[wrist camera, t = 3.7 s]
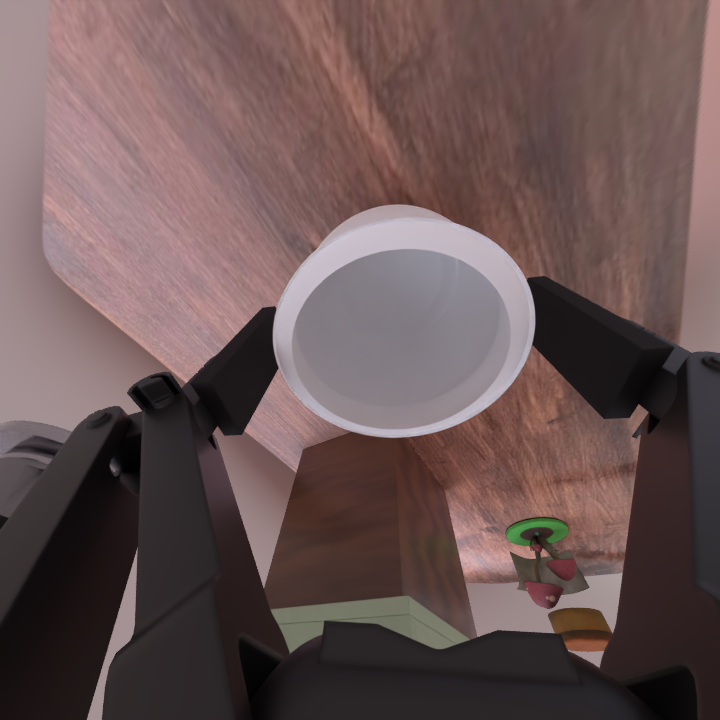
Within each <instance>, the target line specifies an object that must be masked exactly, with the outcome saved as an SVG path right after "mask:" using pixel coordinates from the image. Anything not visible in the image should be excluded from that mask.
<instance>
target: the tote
mask: <svg viewBox="0 0 720 720" xmlns="http://www.w3.org/2000/svg"><path fill="white" fill-rule="evenodd" d="M270 610H271V612H272V614H273V616H274V618H275V620H276V622H277V623H278V625H279V627H280V629H281V631H282V633H283V636H284V638H285V641H286V643H287V646H288V649H289V652H290V653H291V652H293V651H294V650H295V649H297V648H298V647H299V646H301V645H302V644H303V643H305V642H307V641H309V640H311V639H313V638H315V637H317V636H319V635H322V634H323V626H324V621H339V622H357V623H375V624H379V625H381V626H384V627H386V628H388V629H391V630H393V631H395V632H397V633H400V634H402V635H404V636H407V637H409V638H411V639H413V640H416V641H418V642H420V643H423V644H425V645H427V646H429V647H432V648H435V649H444V648H448V647H450V646H453V645H456V644H459V643H462V642H465V641H468V640H470V639H469V638H467V637H466V636H464V635H463V634H462V633H460V632H459V631H457V630H456V629H455V628H453V627H452V626H450V625H449V624H448V623H446V622H445V621H443V620H442V619H440V618H439V617H438V616H436V615H435V614H433V613H432V612H431V611H429V610H428V609H426V608H425V607H424V606H422V605H421V604H419V603H418V602H417V601H415V600H414V599H412V598H411V597H409V596H398V597H388V598H378V599H368V600H358V601H348V602H338V603H328V604H318V605H308V606H298V607H288V608H278V609H270Z"/></svg>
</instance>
